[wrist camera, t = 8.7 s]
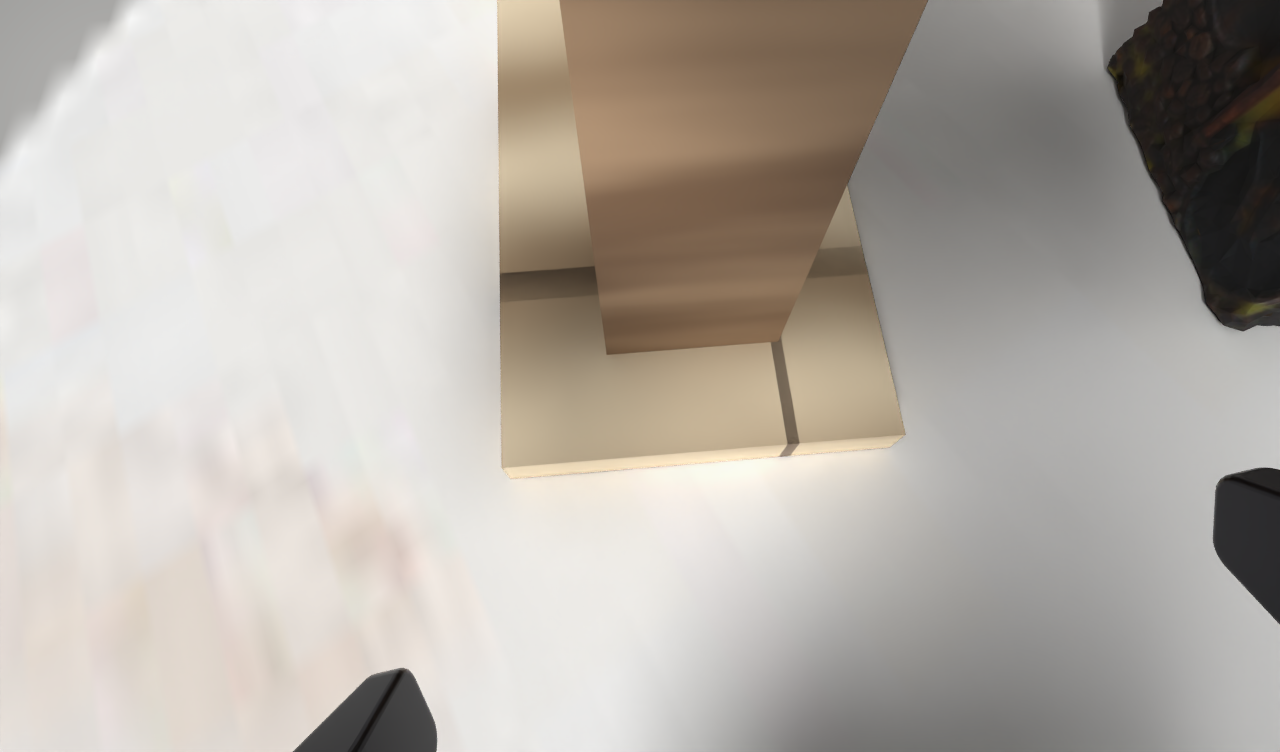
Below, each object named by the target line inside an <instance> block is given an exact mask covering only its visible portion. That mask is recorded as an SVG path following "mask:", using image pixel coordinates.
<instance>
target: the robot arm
mask: <svg viewBox="0 0 1280 752" xmlns="http://www.w3.org/2000/svg"><path fill="white" fill-rule="evenodd" d="M1213 544H1214V548H1215V550H1216V553H1217V555H1218V557H1219V558H1220V560H1221V561H1222V563H1223V564H1224V565H1225V566H1226V568H1227V569H1228V570H1229V571H1230V572H1231V573H1232V574H1233V575H1234V576H1235V577H1236V578H1237V579H1238V580H1239V581H1240V582H1241V584H1242V585H1243V586H1244V587H1245V588H1246V589H1247V590H1248V591H1249V592H1250V593H1251V594H1252V595H1253V596H1254V597H1255V598H1256V600H1257V601H1258V602H1259V603H1260V604H1261V605H1262V606H1263V607H1264V608H1265V609H1266V610H1267V611H1268V612H1269V613H1270V615H1271V616H1272V617H1273V618H1274V619H1275V620H1276V621H1277V622H1278V623H1279V624H1280V470H1278V469H1273V468H1255V469H1251V470H1247V471H1242V472H1238V473H1234V474H1230V475H1227V476H1225V477H1223V478H1221V479H1220V481H1219V482H1218V484H1217V486H1216V490H1215V507H1214V526H1213ZM436 751H437V731H436V726H435V722H434V719H433V717H432V714H431V712H430V710H429V708H428V706H427V703H426V701H425V699H424V697H423V695H422V692H421V690H420V688H419V686H418V684H417V681H416V679H415V677H414V676H413V674H412V673H411V672H410V671H409V670H408V669H405V668H398V669H394V670H390V671H386V672H381V673H377V674H374V675H371V676H370V677H368V678H367V679H366V680H365V681H364V682H363V683H362V684H361V685H360V686H359V687H358V688H357V689H356V690H355V691H354V692H353V693H352V694H351V695H350V696H349V697H348V698H347V699H346V700H345V701H344V702H343V703H342V704H341V705H340V706H339V707H338V708H337V709H336V710H335V711H334V712H333V713H332V714H331V715H330V716H328V717H327V718H326V719H325V720H324V721H323V722H322V723H321V724H320V725H319V726H318V727H317V728H316V729H315V730H314V731H313V732H312V733H311V734H310V735H309V736H308V737H307V738H306V739H305V740H304V741H303V742H302V743H301V744H300V745H299V746H298V747H297V748H296V749H295V750H294V751H293V752H436Z"/></svg>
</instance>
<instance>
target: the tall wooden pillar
mask: <svg viewBox="0 0 1280 752" xmlns="http://www.w3.org/2000/svg"><path fill="white" fill-rule="evenodd" d="M559 2H560V9H561V17H562V24H563V32H564V39H565V47H566V54H567V62H568V69H569V77H570V84H571V92H572V99H573V107H574V114H575V122H576V129H577V137H578V144H579V152H580V159H581V167H582V174H583V181H584V189H585V196H586V204H587V211H588V219H589V226H590V234H591V241H592V249H593V256H594V264H595V271H596V279H597V286H598V294H599V301H600V309H601V316H602V324H603V331H604V339H605V346H606V354H607V355H613V354H626V353H639V352H651V351H664V350H677V349H690V348H702V347H715V346H728V345H741V344H753V343H766V342H778V341H779V339H780V336H781V334H782V332H783V330H784V327H785V325H786V323H787V321H788V318H789V316H790V314H791V311H792V309H793V307H794V305H795V302H796V300H797V298H798V295H799V293H800V291H801V289H802V286H803V284H804V282H805V280H806V277H807V275H808V273H809V270H810V268H811V266H812V264H813V261H814V259H815V257H816V255H817V252H818V250H819V248H820V245H821V243H822V241H823V239H824V236H825V234H826V232H827V229H828V227H829V225H830V223H831V220H832V218H833V216H834V214H835V211H836V209H837V207H838V204H839V202H840V200H841V198H842V195H843V193H844V191H845V188H846V186H847V184H848V182H849V179H850V177H851V175H852V173H853V170H854V168H855V166H856V163H857V161H858V159H859V157H860V154H861V152H862V150H863V147H864V145H865V143H866V141H867V138H868V136H869V134H870V132H871V129H872V127H873V125H874V122H875V120H876V118H877V116H878V113H879V111H880V109H881V106H882V104H883V102H884V100H885V97H886V95H887V93H888V91H889V88H890V86H891V84H892V81H893V79H894V77H895V75H896V72H897V70H898V68H899V65H900V63H901V61H902V59H903V56H904V54H905V52H906V50H907V47H908V45H909V43H910V40H911V38H912V36H913V34H914V31H915V29H916V27H917V25H918V22H919V20H920V18H921V15H922V13H923V11H924V9H925V6H926V4H927V2H928V0H559Z"/></svg>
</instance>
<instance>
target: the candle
mask: <svg viewBox="0 0 1280 752" xmlns="http://www.w3.org/2000/svg"><path fill="white" fill-rule="evenodd" d="M1108 69H1109V71H1110V72H1111V73H1112V75H1113V76H1114V77H1115V79H1116V80H1117V81H1118V84H1117V86H1118V91H1119V94H1120V97H1121V98H1122V100H1123V101H1124V103H1125V105H1126V106H1127V108H1128V112H1129V121H1130V126H1131V128H1132V130H1133V132H1134V133H1135V135H1136V137H1137V138H1138V140H1139V142H1140V144H1141V147H1142V149H1143V152H1144V155H1145V158H1146V161H1147V165H1148V168H1149V170H1150V172H1151V173H1152V175H1153V177H1154V178H1155V180H1156V181H1157V183H1158V185H1159V186H1160V188H1161V190H1162V192H1163V194H1164V196H1163V200H1162V201H1163V202H1164V204H1165V205H1166V206H1167V208H1168V209H1169V211H1170V212H1171V214H1172V217H1173V221H1174V224H1175V227H1176V228H1177V230H1178V231H1179V232H1180V234H1181V236H1182V238H1183V240H1184V242H1185V244H1186V246H1187V249H1188V251H1189V253H1190V255H1191V257H1192V259H1193V261H1194V264H1195V266H1196V269H1197V271H1198V274H1199V276H1200V279H1201V282H1202V284H1203V288H1204V293H1205V298H1206V303H1207V304H1208V306H1209V307H1210V308H1211V309H1212V310H1213V312H1214V313H1215V314H1216V315H1217V317H1218V318H1219V320H1220V321H1221V322H1222V324H1223V325H1224V326H1228V327H1231V328H1234V329H1237V330H1240V331H1245V330H1247V329H1250V328H1252V327H1254V326H1256V325H1261V326H1272V325H1275V326H1280V0H1163V4H1162V6H1161V7H1157V8H1156V9H1154V10H1152V11H1151V12H1149V16H1148V22H1147V23H1146V24H1144V25H1142V26H1140V27H1138V28H1137V29H1135V30H1134V34H1133V37H1131V38H1130V39H1129V40H1128V41H1126V42H1125V43H1124V44H1123V45H1122V46H1121V47H1120V48H1119V49H1118V50H1117V51H1116V54H1115V55H1113V56H1112V58H1111V59H1110V62H1109V65H1108Z"/></svg>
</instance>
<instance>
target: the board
mask: <svg viewBox="0 0 1280 752" xmlns="http://www.w3.org/2000/svg"><path fill="white" fill-rule="evenodd" d="M497 24H498V133H499V242H500V350H501V459H502V469H503V470H504V472H505V473H506V474H507V475H508V476H509V478H510V479H517V478H529V477H541V476H553V475H565V474H577V473H589V472H601V471H613V470H625V469H637V468H649V467H661V466H673V465H685V464H697V463H709V462H721V461H733V460H745V459H758V458H770V457H782V456H794V455H806V454H818V453H830V452H842V451H854V450H866V449H878V448H890V447H891V446H892V445H893V444H895V443H896V442H897V441H898V440H900V439H901V438H902V437H903V436H904V435H906V434H905V430H904V426H903V421H902V417H901V413H900V408H899V404H898V400H897V396H896V391H895V387H894V383H893V378H892V374H891V370H890V366H889V361H888V357H887V353H886V348H885V344H884V340H883V336H882V331H881V327H880V323H879V319H878V314H877V310H876V306H875V301H874V297H873V293H872V289H871V284H870V280H869V276H868V271H867V267H866V263H865V259H864V254H863V250H862V246H861V242H860V237H859V233H858V229H857V224H856V220H855V216H854V212H853V207H852V203H851V199H850V194H849V190H848V186H846V188H845V191H844V193H843V195H842V198H841V200H840V202H839V204H838V207H837V209H836V211H835V214H834V216H833V218H832V220H831V223H830V225H829V227H828V229H827V232H826V234H825V236H824V239H823V241H822V243H821V245H820V248H819V250H818V252H817V255H816V257H815V259H814V261H813V264H812V266H811V268H810V270H809V273H808V275H807V277H806V280H805V282H804V284H803V286H802V289H801V291H800V293H799V295H798V298H797V300H796V302H795V305H794V307H793V309H792V311H791V314H790V316H789V318H788V321H787V323H786V325H785V327H784V330H783V332H782V334H781V336H780V339H779V341H778V342H766V343H753V344H741V345H728V346H715V347H702V348H690V349H677V350H664V351H651V352H639V353H626V354H613V355H607V354H606V346H605V339H604V331H603V324H602V316H601V309H600V301H599V294H598V286H597V279H596V271H595V264H594V256H593V249H592V241H591V234H590V226H589V219H588V211H587V204H586V196H585V189H584V181H583V174H582V167H581V159H580V152H579V144H578V137H577V129H576V122H575V114H574V107H573V99H572V92H571V84H570V77H569V69H568V62H567V54H566V47H565V39H564V32H563V24H562V17H561V9H560V2H559V0H497Z"/></svg>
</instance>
